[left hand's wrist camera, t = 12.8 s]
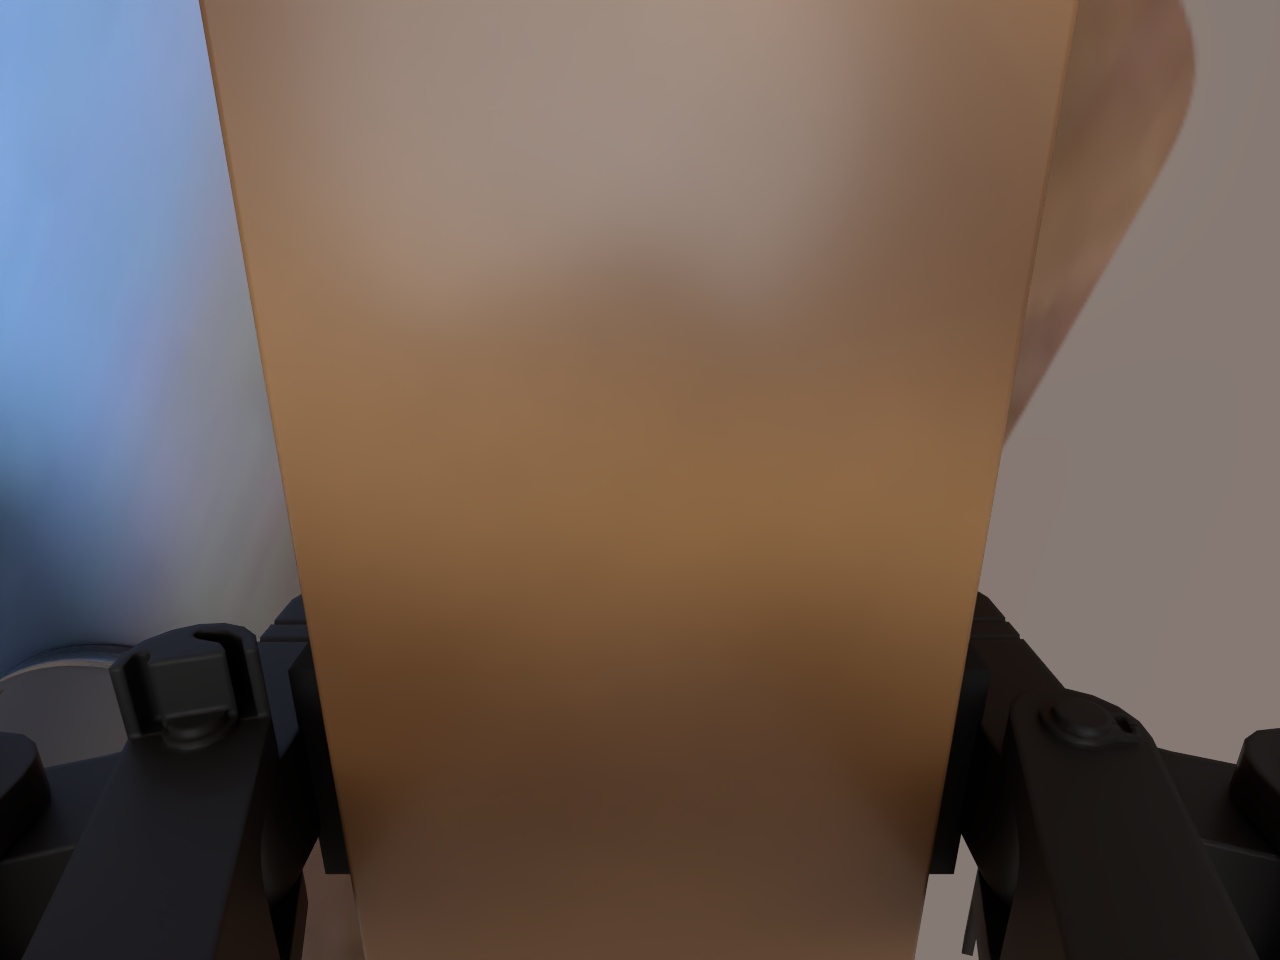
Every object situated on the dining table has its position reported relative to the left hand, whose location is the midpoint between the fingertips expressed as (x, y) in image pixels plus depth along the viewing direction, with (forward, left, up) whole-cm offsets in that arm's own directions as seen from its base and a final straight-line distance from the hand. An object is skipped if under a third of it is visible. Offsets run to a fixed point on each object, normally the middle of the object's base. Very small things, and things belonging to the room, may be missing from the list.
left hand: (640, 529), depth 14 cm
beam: (-3, +26, -1) cm, 26 cm away
